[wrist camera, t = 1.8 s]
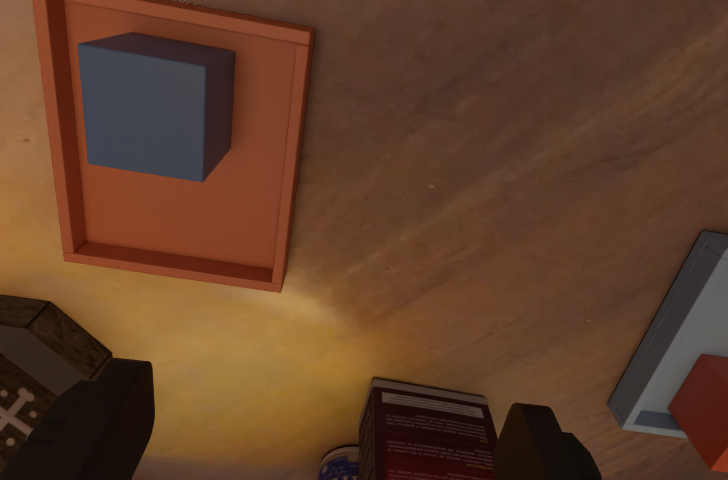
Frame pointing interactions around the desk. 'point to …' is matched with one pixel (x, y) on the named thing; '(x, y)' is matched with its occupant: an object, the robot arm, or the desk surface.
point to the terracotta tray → (172, 195)
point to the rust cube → (705, 410)
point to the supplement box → (424, 434)
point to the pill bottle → (340, 465)
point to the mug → (39, 365)
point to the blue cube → (156, 104)
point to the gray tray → (677, 340)
